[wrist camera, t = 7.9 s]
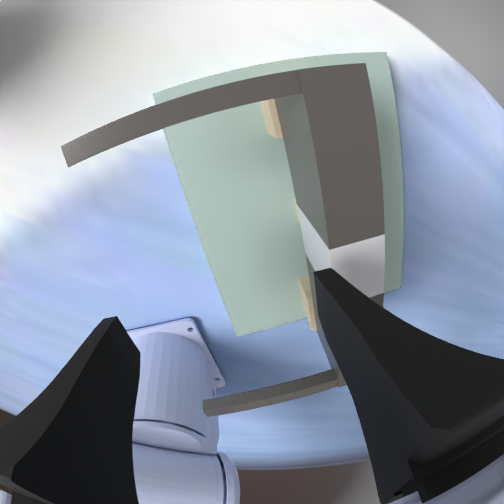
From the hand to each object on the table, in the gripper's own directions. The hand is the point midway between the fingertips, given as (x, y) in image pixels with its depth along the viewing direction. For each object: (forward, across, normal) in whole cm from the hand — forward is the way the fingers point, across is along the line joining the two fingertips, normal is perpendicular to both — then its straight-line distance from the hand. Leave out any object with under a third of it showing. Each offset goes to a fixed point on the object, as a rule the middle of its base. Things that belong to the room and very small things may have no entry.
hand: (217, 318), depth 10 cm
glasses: (+6, -2, +1) cm, 7 cm away
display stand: (+10, -6, +1) cm, 12 cm away
